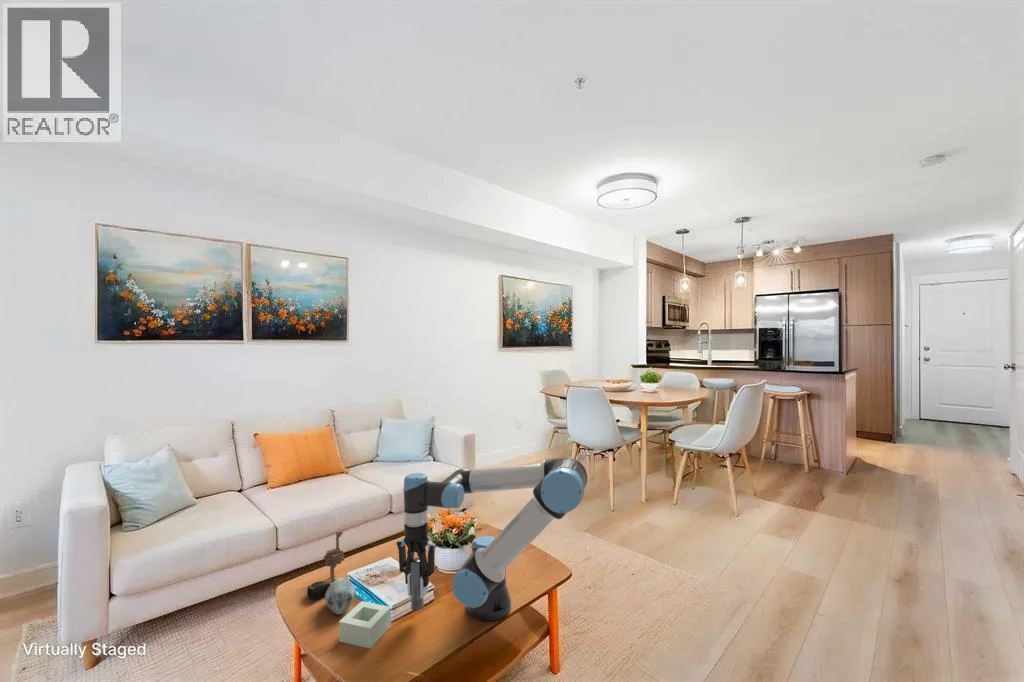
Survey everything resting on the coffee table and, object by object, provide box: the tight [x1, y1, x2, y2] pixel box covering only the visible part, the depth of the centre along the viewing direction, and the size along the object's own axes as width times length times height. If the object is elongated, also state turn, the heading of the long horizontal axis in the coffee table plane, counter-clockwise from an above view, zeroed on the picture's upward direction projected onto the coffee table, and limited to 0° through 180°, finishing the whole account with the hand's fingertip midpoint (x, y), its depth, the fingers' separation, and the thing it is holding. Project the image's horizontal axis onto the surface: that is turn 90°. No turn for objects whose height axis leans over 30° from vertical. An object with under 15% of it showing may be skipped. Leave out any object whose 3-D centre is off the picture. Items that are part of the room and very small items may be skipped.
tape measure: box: [307, 580, 332, 600], centre depth 157 cm, size 7×7×4 cm
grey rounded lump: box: [324, 577, 356, 615], centre depth 150 cm, size 14×10×10 cm
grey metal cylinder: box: [410, 557, 425, 611], centre depth 143 cm, size 4×4×15 cm
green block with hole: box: [338, 600, 392, 650], centre depth 137 cm, size 11×11×6 cm
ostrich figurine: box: [295, 530, 345, 590], centre depth 165 cm, size 17×7×18 cm, turn 121°
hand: (417, 594), depth 143 cm, fingers closed on grey metal cylinder, 4 cm apart
